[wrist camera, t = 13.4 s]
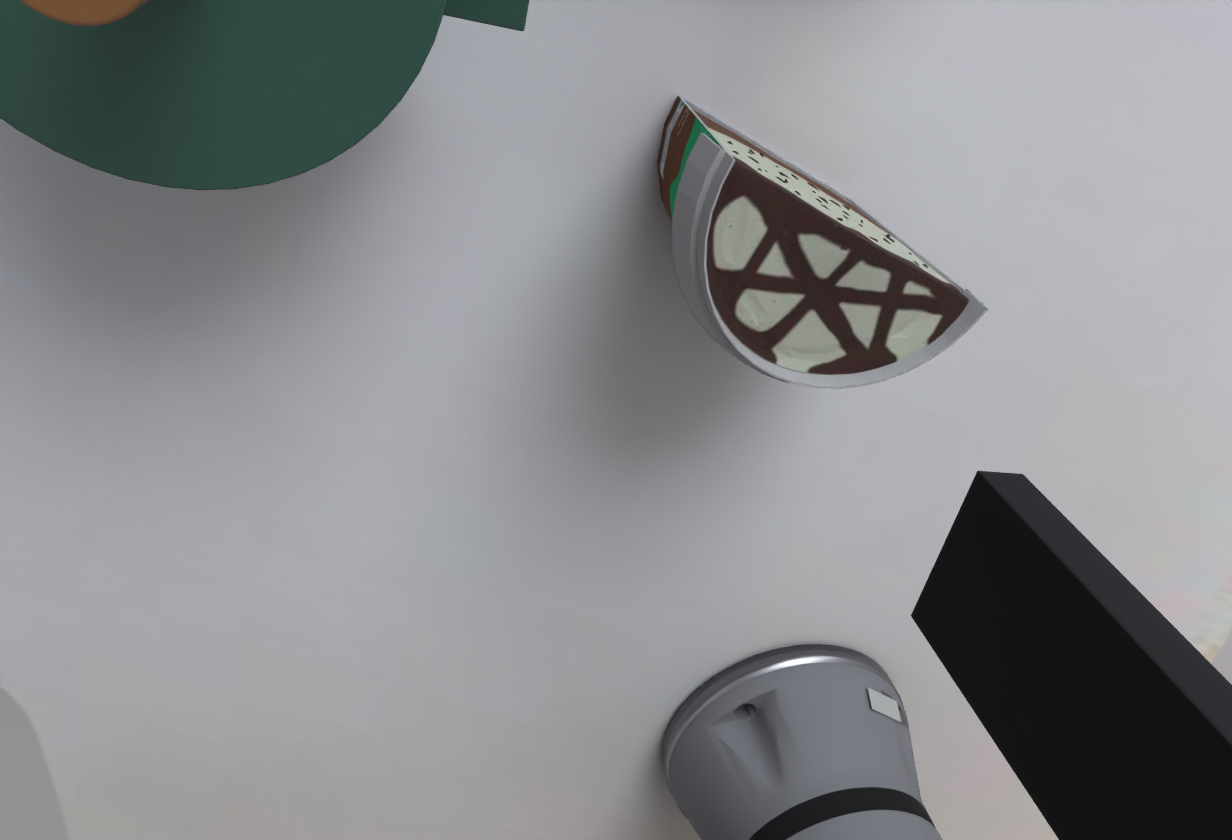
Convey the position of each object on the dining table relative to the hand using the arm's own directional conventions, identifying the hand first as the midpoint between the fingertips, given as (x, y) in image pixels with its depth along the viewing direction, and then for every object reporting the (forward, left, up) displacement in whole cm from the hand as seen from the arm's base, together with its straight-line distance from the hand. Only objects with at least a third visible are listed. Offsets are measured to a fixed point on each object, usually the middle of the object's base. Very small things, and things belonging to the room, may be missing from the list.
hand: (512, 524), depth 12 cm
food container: (-3, -13, -27) cm, 30 cm away
